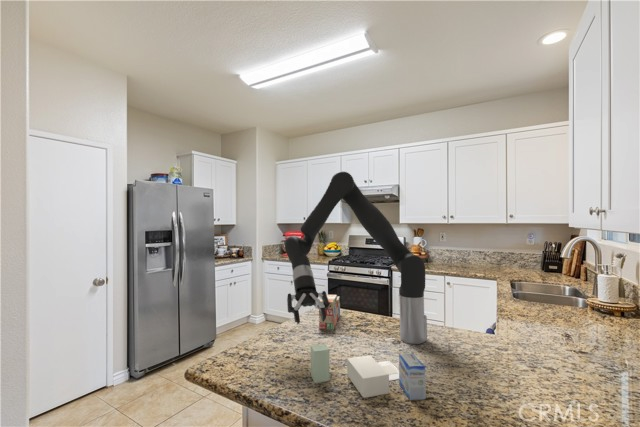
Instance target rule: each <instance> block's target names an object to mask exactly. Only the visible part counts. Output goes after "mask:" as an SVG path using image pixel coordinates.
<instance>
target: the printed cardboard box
mask: <svg viewBox="0 0 640 427" xmlns="http://www.w3.org/2000/svg"><path fill="white" fill-rule="evenodd" d="M326 295H327V298H328V301H329V307H328V309H326V310H325V312H326V319H325V321H322V319H321V314H320V310H319V309H318V315H319V316H318V317H319V319H318V320H319V321H318V322H319V324H318V326H319V328H318V330H329V331H330V330H332V331H333V330H334V329H335V327H336V325H337V322H338V319H339V318H340V316H341V300H340V299H341V298H340V297H341V296H338V295H337V294H326ZM319 300H320V301H321V303H322V304H323V300H322V299H321V298H320V299H319ZM323 305H324V304H323Z"/></svg>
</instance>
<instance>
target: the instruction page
mask: <svg viewBox="0 0 640 427" xmlns="http://www.w3.org/2000/svg"><path fill="white" fill-rule="evenodd" d="M376 362H377V361H376ZM377 363H378V364H379V365H380V366H381V367H382V368H383V369H384V370H385V371H386V372H387V373H388V374H389V382H393V381H397V380H398V381H399V368H397V367H396V366H395V365H394V364H393V363H392V362H391V361H390V360H384V361H378V362H377Z"/></svg>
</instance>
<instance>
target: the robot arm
mask: <svg viewBox="0 0 640 427" xmlns="http://www.w3.org/2000/svg"><path fill="white" fill-rule="evenodd" d="M342 199H343V201H344V202H345V203H346V204H347V205H348V207H349V208H350V209H351V210H352V212H353V214H354V215H355V217H356V219H357V220H358V222H359V223H360V224H361V226H362V228H364V229H365V231H366V233H368V234H369V236H371V238H372V239H373V240H374V241H375V243H376V244H378V246H380V247H381V249H383V251H385V252H386V254H387V255H388V256H389V258H390V260H391V261H392V262H393V264H394V265H395V268H397V270H398V272H399V273H400V286H399V288H398V291H399V292H398V296H399V298H398V299H399V335H400V336H399V337H400V338H399V339H400V340H401V341H402V342H403V343H406V344H410V345H411V344H412V345H420V344H423V343H425V342H427V341H428V323H427V322H428V317H427V315H426V314H425V295H424V294H425V289H426V264H425V261H424V260H423V258H422V257H420V256H419V255H416V254H414V253H412V252H411V250H409V249H408V248H407V247H406V245H405V244H404V243H403V242H402V241H401V239H400V238H399V237H398V235H397V232H396V230H395V228H394V227H393V225H392V224H391V222H390V221H389V220H388V219H387V217H386V216H385V215H384V214H383V212H381V211H380V209H378V207H377V206H375V204H374V203H373V202H371V201H370V200H369V199H368V198H367V197H366V196H365V195H364V194H363V192H362V191H361V190H360V188H359V186H358V185H357V184H356V182H355V180H354V178H353V176H352V175H351V174H350V173H349V172H347V171H341V170H340V171H338V172H336V173H334V175H333V176H332V178H331V179H330V182H329V184H328V186H327V188H326V191H325V193H323V196H322V197H321V198H320V201H319V202H318V203H317V205H316V206H315V207H314V208H313V210H312V211H311V212H310V214H309V215H308V216H307V218H306V219H305V221H304V222H303V223H302V224H301V227H300V232H301V233H302V235H304V238H303V239H302V238H301V237H299V236H297V235H290V236H288V237H287V239H286V240H285V243H284V250H285V253H286V255H287V258H288V260H289V261H290V263H291V268H292V278H293V279H292V282H293V286H294V292H295V294H292V293H288V294H287V297H286V302H287V303H286V304H287V313H289V314H290V313H292V314H293V318H294V322H295V323H297V325H300V322H301V319H300V312H299V310H300V309H301V308H302V307H303V308H304V307H313V306H314V308H316V309H318V311H319V310H320V314H321V319H322V321H325V319H326V312H325V310H326V309H328V307H329V301H328V298H327V295H328V294H327V291H325V290H323V291H322V292H318V291H317V287H316V281H315V277H314V273H313V270H312V267H311V263H310V259H309V257H308V256H307V255H309V254H310V252H311V249H312V247H313V244H314V242H315V239H316V236H317V235H318V234H319V232H320V231H321V230H322V228H323V227H324V225H325V224H326V222H327V220H328V219H329V218H330V215H331V214H332V213H333V210H334V209H335V207H336V206H337V205H338V204H339V202H340V201H341V200H342ZM319 298H320V299H319ZM321 299H322V300H323V304H324V305H323V304H322V303H321V301H320V300H321ZM294 300H295V301H296V302H297V303H296V305H294V306H295V307H293V302H294Z"/></svg>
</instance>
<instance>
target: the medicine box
mask: <svg viewBox="0 0 640 427" xmlns="http://www.w3.org/2000/svg"><path fill="white" fill-rule="evenodd" d="M398 370H399V380H398V382H399V383H398V384H399V386H400V388H401V389H402V390H403V391H404V392H403V393H405V395H406V396H407V398H408V399H409V400H410V401H420V400H421V401H423V400H426V398H427V397H426V396H427V395H426V393H427V392H426V386H427V385H426V366H425V365H424V364H423V363H422V361H420V359H418V357H417V356H416V355H415V354H414V353H410V352H409V353H407V352H406V353H399V354H398Z"/></svg>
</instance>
